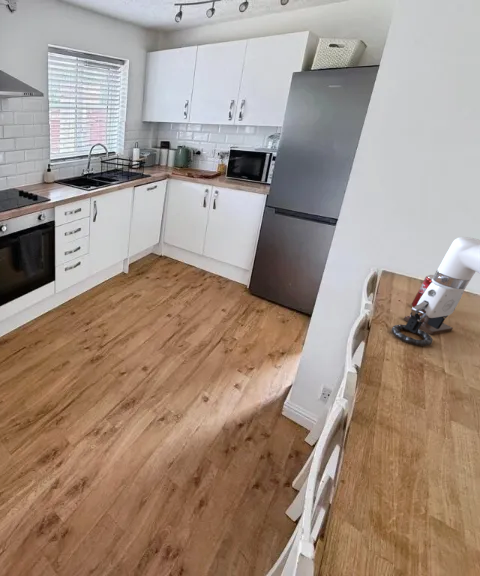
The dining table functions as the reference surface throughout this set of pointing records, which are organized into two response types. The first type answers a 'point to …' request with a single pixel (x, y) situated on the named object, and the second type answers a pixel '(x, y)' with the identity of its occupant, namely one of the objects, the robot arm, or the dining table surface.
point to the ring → (410, 340)
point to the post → (429, 328)
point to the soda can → (422, 290)
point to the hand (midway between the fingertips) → (421, 328)
